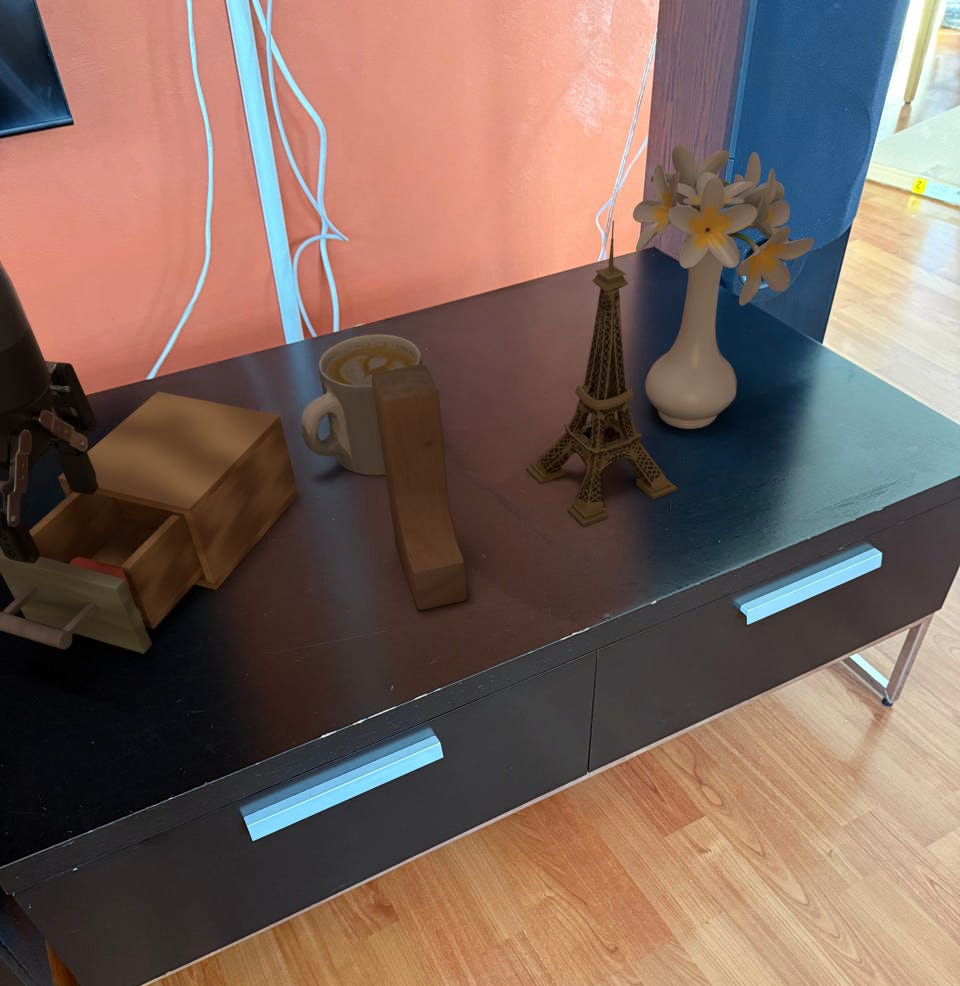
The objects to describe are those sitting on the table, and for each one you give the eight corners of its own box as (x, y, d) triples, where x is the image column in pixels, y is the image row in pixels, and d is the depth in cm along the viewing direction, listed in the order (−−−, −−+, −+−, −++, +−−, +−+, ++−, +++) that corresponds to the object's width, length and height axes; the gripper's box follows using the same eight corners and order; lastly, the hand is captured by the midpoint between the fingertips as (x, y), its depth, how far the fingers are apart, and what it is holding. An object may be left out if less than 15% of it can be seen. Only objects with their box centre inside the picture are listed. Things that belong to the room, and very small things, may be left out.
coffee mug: (403, 410, 103) (393, 324, 96) (447, 454, 97) (439, 366, 90) (289, 450, 99) (269, 363, 92) (327, 499, 93) (308, 409, 86)
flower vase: (713, 479, 92) (755, 217, 74) (589, 400, 103) (599, 154, 85) (805, 430, 97) (864, 174, 79) (678, 360, 108) (704, 120, 90)
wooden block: (468, 601, 82) (454, 420, 69) (417, 612, 81) (393, 432, 68) (443, 537, 88) (425, 361, 75) (395, 548, 87) (369, 371, 74)
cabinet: (216, 590, 84) (188, 508, 78) (93, 557, 88) (57, 477, 82) (298, 495, 93) (280, 415, 87) (183, 469, 98) (157, 391, 91)
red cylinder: (91, 563, 84) (79, 588, 83) (74, 552, 81) (62, 577, 81) (156, 581, 81) (145, 606, 81) (141, 570, 79) (129, 596, 79)
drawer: (108, 695, 75) (75, 630, 70) (-14, 656, 79) (-53, 591, 73) (233, 552, 86) (213, 487, 81) (122, 524, 90) (96, 460, 85)
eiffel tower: (614, 437, 98) (630, 184, 80) (676, 490, 91) (709, 227, 73) (525, 469, 95) (521, 214, 77) (583, 527, 88) (593, 261, 70)
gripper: (-18, 278, 68) (63, 466, 80) (-154, 382, 58) (-40, 578, 70) (75, 286, 67) (144, 476, 78) (-49, 393, 57) (50, 591, 69)
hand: (57, 524), depth 74 cm, fingers open, 8 cm apart
